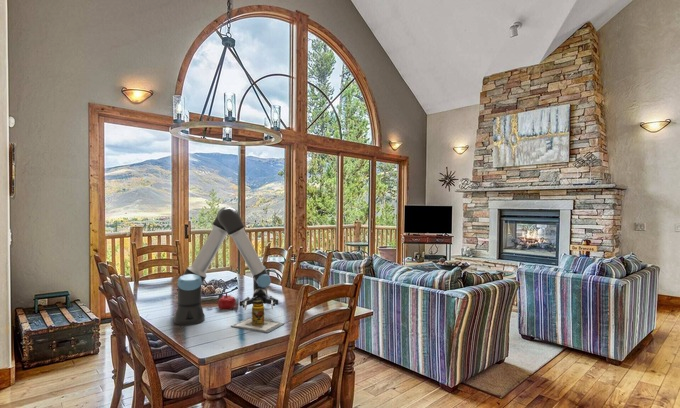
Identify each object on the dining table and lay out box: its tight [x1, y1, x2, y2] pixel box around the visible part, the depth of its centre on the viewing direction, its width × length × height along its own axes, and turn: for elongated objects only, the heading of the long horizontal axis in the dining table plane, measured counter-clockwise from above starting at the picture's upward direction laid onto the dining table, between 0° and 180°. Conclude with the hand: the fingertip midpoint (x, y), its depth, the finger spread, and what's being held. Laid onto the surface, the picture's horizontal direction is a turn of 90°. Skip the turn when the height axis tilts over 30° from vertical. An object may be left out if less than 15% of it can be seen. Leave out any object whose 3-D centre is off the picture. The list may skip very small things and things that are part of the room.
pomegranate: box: [217, 292, 237, 310], centre depth 228 cm, size 10×10×9 cm
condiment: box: [247, 300, 268, 327], centre depth 198 cm, size 7×8×12 cm
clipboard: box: [230, 317, 285, 334], centre depth 198 cm, size 22×15×2 cm
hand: (258, 306), depth 200 cm, fingers open, 13 cm apart
